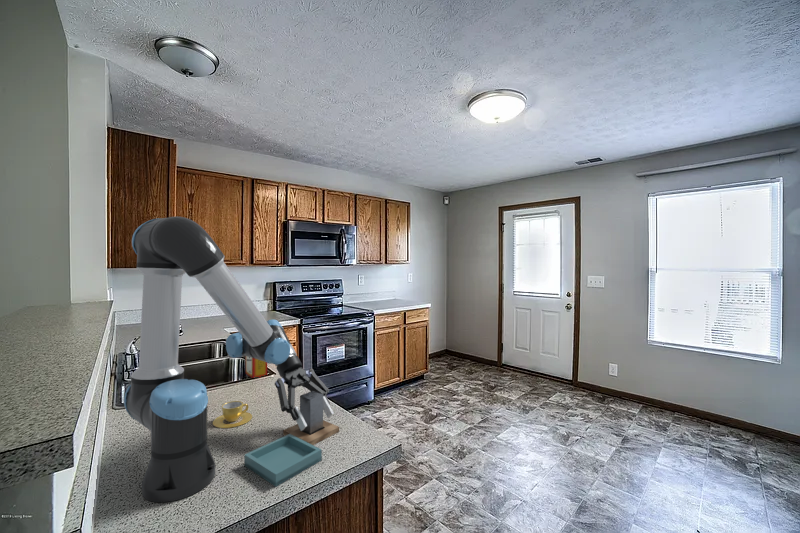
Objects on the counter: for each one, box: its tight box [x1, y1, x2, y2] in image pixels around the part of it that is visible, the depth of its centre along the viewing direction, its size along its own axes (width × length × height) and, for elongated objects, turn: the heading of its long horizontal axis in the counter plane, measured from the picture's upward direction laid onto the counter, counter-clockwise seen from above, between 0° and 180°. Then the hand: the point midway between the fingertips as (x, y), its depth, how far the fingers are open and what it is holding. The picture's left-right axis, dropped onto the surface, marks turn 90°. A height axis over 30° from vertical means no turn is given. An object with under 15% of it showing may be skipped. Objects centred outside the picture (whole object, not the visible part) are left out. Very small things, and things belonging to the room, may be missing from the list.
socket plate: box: [282, 419, 340, 446], centre depth 111 cm, size 12×12×2 cm
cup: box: [212, 400, 253, 429], centre depth 120 cm, size 12×12×5 cm
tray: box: [243, 434, 323, 488], centre depth 95 cm, size 14×14×3 cm
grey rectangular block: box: [299, 391, 324, 435], centre depth 111 cm, size 5×5×12 cm
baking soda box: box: [244, 356, 268, 379], centre depth 165 cm, size 10×6×16 cm
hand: (318, 421), depth 109 cm, fingers open, 10 cm apart
